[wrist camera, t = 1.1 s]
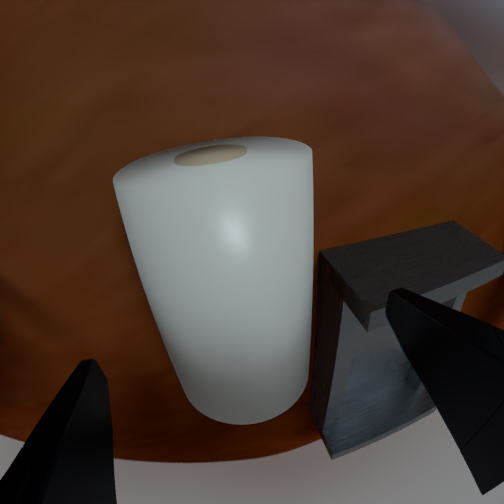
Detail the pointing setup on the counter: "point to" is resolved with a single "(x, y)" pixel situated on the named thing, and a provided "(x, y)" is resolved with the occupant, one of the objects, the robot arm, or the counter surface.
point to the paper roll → (227, 268)
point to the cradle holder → (383, 327)
